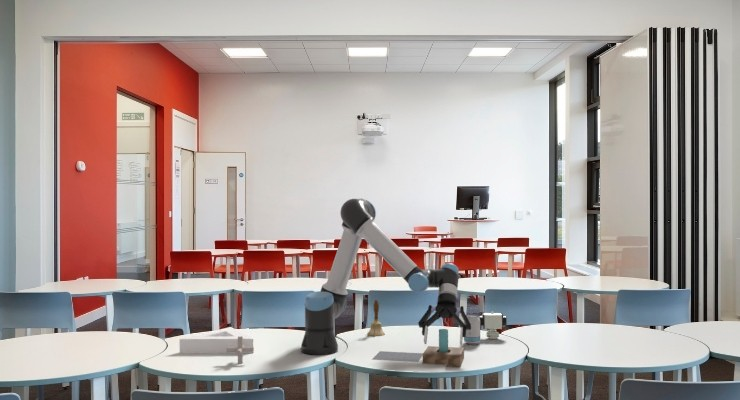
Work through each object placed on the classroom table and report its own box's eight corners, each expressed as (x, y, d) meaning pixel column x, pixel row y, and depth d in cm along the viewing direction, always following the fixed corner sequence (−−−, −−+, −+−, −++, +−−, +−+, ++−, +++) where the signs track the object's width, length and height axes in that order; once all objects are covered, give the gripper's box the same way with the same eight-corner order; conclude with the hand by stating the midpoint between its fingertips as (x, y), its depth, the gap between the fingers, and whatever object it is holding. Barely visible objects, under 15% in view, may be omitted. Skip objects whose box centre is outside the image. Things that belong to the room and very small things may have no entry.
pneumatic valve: (506, 339, 280) (506, 312, 280) (480, 339, 281) (479, 312, 281) (504, 337, 286) (504, 310, 286) (478, 336, 286) (478, 310, 287)
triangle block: (179, 354, 258) (179, 339, 258) (197, 341, 284) (197, 327, 284) (253, 354, 258) (253, 338, 258) (264, 340, 284) (264, 326, 284)
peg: (438, 362, 240) (438, 330, 240) (439, 360, 244) (439, 328, 244) (447, 362, 239) (447, 330, 239) (448, 360, 243) (448, 329, 243)
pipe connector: (228, 360, 245) (228, 334, 246) (255, 359, 246) (254, 333, 246) (224, 366, 235) (224, 339, 236) (252, 366, 236) (251, 339, 236)
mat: (371, 360, 243) (371, 359, 243) (379, 352, 257) (379, 351, 257) (418, 363, 239) (418, 361, 239) (423, 354, 252) (423, 353, 252)
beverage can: (483, 344, 271) (483, 316, 271) (469, 345, 268) (469, 317, 268) (474, 341, 277) (474, 313, 277) (461, 342, 274) (460, 314, 275)
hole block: (422, 364, 236) (422, 354, 236) (428, 356, 250) (428, 346, 250) (460, 366, 233) (460, 356, 233) (464, 358, 247) (463, 347, 247)
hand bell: (388, 333, 295) (388, 299, 295) (378, 336, 288) (378, 301, 288) (373, 331, 300) (373, 298, 300) (363, 334, 293) (363, 300, 293)
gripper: (479, 304, 254) (476, 350, 239) (417, 302, 260) (411, 347, 245) (478, 292, 249) (475, 338, 234) (415, 290, 254) (409, 335, 240)
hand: (442, 343), depth 239 cm, fingers open, 13 cm apart
